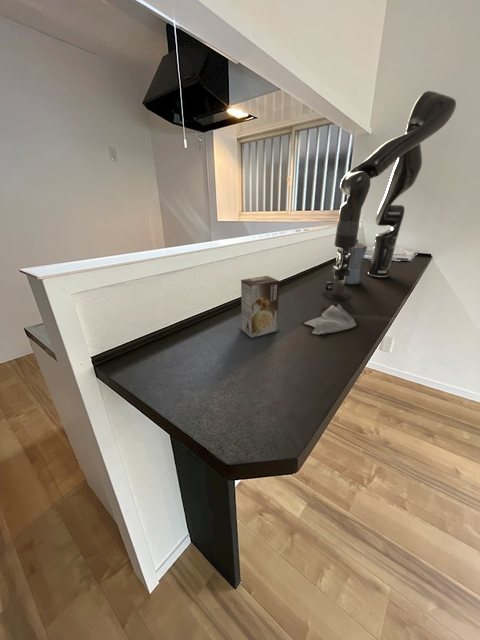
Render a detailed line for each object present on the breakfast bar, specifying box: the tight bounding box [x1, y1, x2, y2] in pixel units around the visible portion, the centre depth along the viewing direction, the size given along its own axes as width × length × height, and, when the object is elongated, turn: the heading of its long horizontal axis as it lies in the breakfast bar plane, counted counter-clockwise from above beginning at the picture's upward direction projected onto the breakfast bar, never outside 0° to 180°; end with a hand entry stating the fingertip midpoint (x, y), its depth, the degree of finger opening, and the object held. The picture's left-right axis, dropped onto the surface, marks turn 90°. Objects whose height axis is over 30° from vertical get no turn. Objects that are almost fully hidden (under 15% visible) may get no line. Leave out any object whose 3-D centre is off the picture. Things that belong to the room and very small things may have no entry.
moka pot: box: [343, 238, 368, 285], centre depth 120 cm, size 10×15×20 cm, turn 158°
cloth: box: [303, 303, 357, 336], centre depth 86 cm, size 26×14×2 cm, turn 139°
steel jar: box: [325, 265, 350, 297], centre depth 105 cm, size 7×5×11 cm
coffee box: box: [240, 275, 280, 339], centre depth 77 cm, size 9×6×16 cm
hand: (339, 277), depth 104 cm, fingers closed on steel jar, 5 cm apart
